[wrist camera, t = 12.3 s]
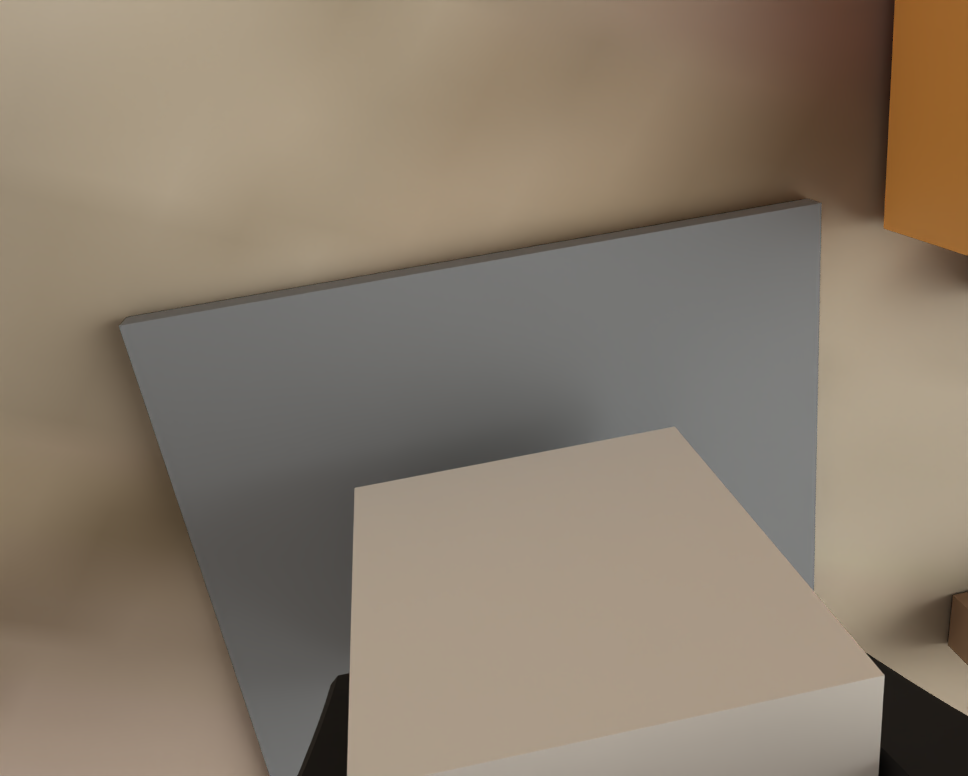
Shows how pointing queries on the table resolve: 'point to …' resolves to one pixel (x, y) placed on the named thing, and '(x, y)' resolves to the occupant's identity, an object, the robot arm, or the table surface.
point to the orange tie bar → (929, 124)
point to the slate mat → (469, 408)
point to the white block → (593, 627)
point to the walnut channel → (959, 626)
